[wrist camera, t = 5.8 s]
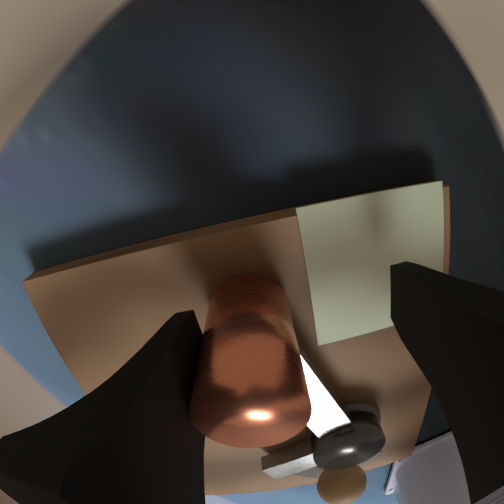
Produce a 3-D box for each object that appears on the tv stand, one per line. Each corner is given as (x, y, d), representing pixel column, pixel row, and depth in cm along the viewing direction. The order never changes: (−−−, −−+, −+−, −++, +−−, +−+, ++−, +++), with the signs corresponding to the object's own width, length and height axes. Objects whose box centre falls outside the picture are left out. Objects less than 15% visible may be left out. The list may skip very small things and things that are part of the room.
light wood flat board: (406, 444, 19) (425, 489, 14) (174, 483, 20) (168, 529, 15) (433, 174, 11) (507, 199, 7) (32, 266, 13) (-25, 313, 8)
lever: (384, 428, 15) (410, 497, 10) (283, 470, 16) (289, 537, 12) (274, 251, 11) (295, 344, 6) (129, 334, 12) (85, 428, 7)
